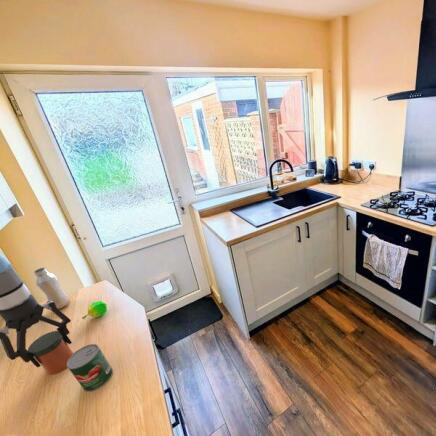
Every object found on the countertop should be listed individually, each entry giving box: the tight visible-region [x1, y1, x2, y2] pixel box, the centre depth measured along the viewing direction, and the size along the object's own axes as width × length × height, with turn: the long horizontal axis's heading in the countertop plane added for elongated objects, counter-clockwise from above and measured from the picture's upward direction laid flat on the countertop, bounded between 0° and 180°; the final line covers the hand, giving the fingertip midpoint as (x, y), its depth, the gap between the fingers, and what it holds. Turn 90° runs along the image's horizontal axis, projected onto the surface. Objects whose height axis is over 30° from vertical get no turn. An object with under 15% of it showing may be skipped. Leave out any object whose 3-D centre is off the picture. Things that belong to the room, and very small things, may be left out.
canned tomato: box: [67, 343, 114, 393], centre depth 75 cm, size 8×8×11 cm
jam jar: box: [34, 339, 75, 376], centre depth 82 cm, size 8×8×11 cm
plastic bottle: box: [33, 267, 71, 310], centre depth 108 cm, size 6×7×20 cm
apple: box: [81, 300, 108, 321], centre depth 102 cm, size 7×6×9 cm
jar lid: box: [27, 330, 63, 358], centre depth 80 cm, size 8×8×2 cm
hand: (53, 353), depth 82 cm, fingers closed on jar lid, 8 cm apart
